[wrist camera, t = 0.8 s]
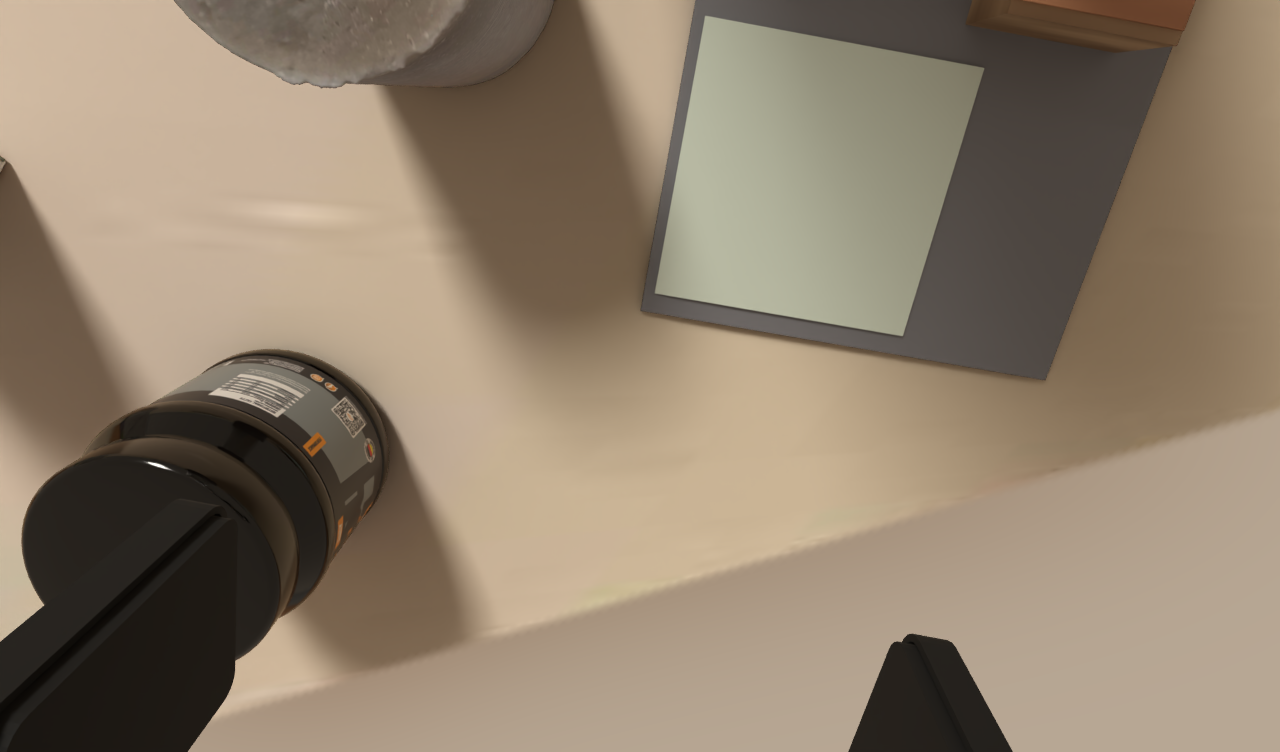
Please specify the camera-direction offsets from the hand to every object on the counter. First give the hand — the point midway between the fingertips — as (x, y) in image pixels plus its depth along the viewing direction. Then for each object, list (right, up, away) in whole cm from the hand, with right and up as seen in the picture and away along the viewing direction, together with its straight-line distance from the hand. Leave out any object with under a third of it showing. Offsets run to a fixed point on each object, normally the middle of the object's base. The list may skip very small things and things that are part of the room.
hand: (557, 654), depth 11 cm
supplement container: (-17, +1, +29) cm, 33 cm away
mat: (+13, +18, +22) cm, 31 cm away
